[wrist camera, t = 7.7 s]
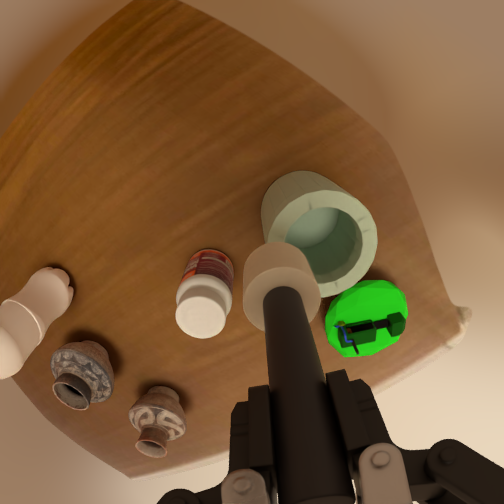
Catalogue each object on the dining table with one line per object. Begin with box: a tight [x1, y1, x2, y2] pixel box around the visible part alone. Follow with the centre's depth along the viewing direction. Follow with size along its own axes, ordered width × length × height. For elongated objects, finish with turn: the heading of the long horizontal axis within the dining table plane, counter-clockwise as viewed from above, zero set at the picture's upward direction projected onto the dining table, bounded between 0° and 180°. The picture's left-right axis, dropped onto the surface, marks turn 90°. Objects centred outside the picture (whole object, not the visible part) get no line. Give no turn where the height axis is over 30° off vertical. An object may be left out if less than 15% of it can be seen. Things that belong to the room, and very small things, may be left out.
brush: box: [243, 242, 356, 504], centre depth 14 cm, size 4×4×16 cm
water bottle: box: [0, 267, 73, 379], centre depth 31 cm, size 7×7×25 cm
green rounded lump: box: [325, 280, 408, 357], centre depth 39 cm, size 12×12×11 cm
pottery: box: [50, 340, 187, 458], centre depth 44 cm, size 11×25×12 cm, turn 51°
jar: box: [261, 171, 378, 298], centre depth 34 cm, size 10×10×12 cm
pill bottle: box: [176, 249, 234, 338], centre depth 37 cm, size 6×6×11 cm
